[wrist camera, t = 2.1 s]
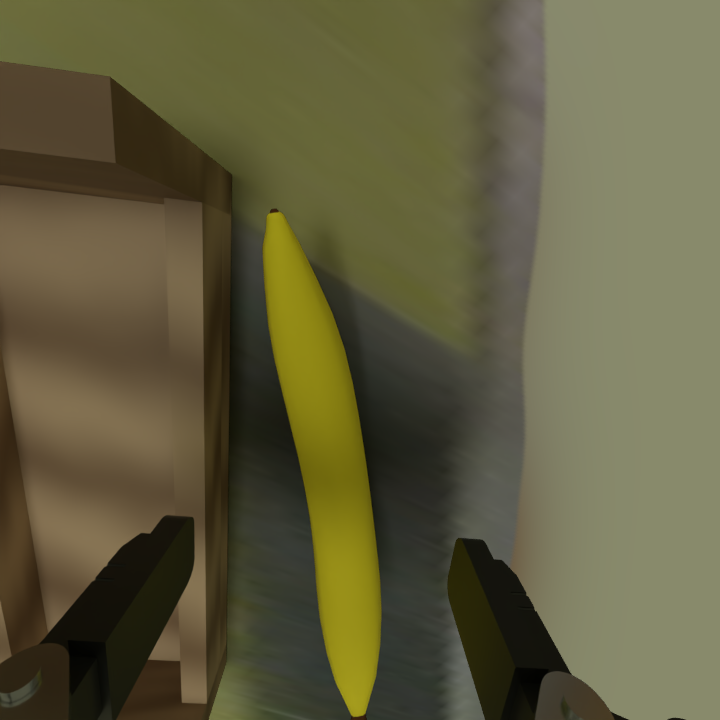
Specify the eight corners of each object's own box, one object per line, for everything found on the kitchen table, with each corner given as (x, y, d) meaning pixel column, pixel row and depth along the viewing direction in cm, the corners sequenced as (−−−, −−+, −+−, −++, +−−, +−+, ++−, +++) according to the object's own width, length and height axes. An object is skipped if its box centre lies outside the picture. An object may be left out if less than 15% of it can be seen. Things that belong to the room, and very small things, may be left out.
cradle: (-40, 140, 13) (-479, -5, 6) (231, 174, 13) (109, 77, 7) (47, 654, 19) (-115, 861, 13) (226, 662, 20) (162, 865, 13)
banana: (335, 224, 14) (323, 189, 8) (383, 587, 19) (400, 740, 13) (264, 233, 14) (197, 205, 8) (331, 594, 19) (323, 749, 13)
